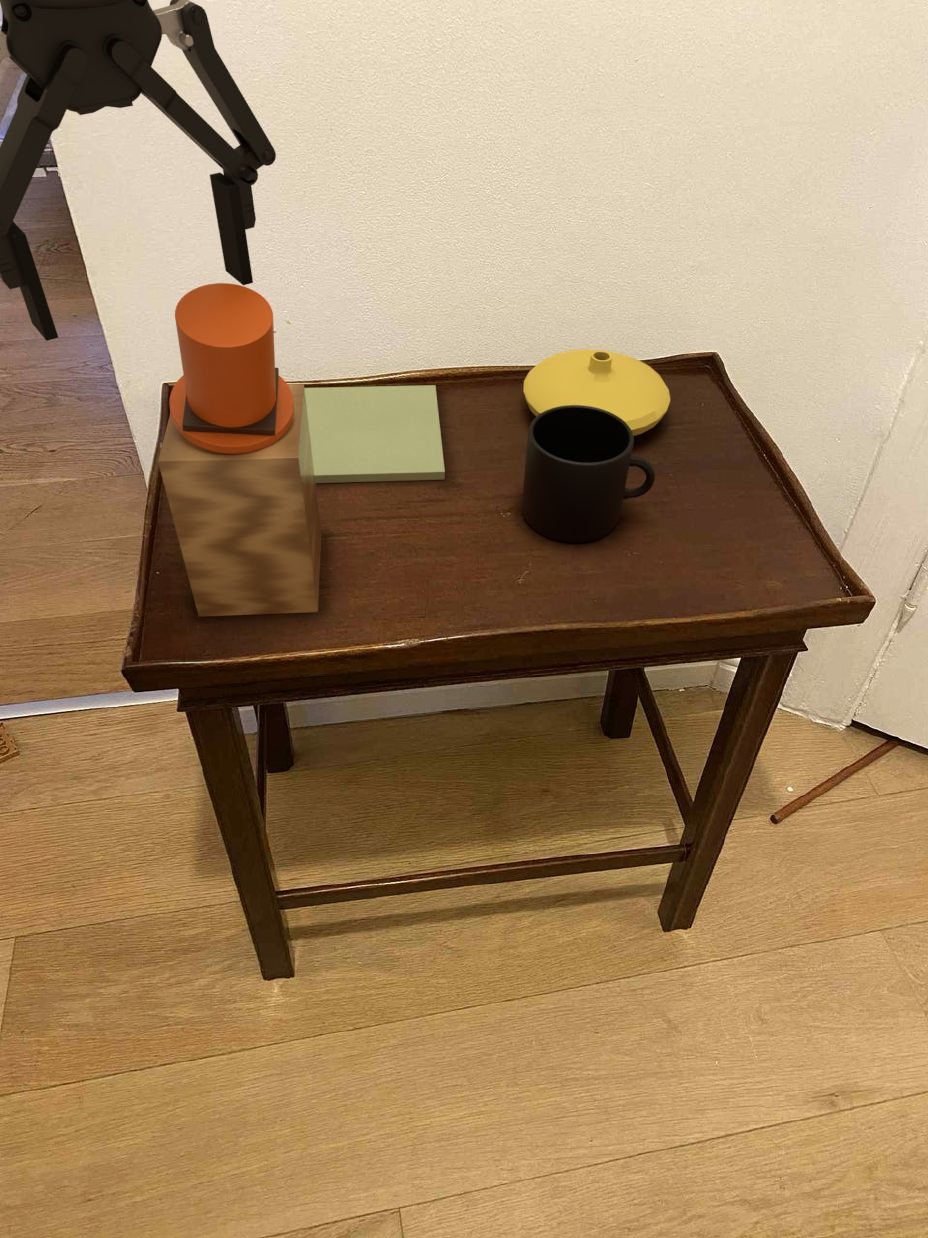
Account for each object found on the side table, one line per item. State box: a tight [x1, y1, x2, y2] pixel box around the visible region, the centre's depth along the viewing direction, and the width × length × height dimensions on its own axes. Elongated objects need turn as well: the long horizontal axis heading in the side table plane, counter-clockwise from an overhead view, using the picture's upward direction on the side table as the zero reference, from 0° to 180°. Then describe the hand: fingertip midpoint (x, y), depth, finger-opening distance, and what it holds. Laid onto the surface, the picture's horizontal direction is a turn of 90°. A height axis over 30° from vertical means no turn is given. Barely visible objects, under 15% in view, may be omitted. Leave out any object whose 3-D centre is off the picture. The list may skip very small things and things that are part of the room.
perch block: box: [157, 383, 322, 618], centre depth 75 cm, size 10×10×16 cm
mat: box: [304, 384, 446, 484], centre depth 95 cm, size 18×16×1 cm
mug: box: [521, 405, 656, 544], centre depth 85 cm, size 9×12×9 cm
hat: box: [168, 282, 294, 454], centre depth 65 cm, size 9×9×9 cm
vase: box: [522, 348, 671, 437], centre depth 97 cm, size 16×16×7 cm
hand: (147, 302), depth 61 cm, fingers open, 13 cm apart
